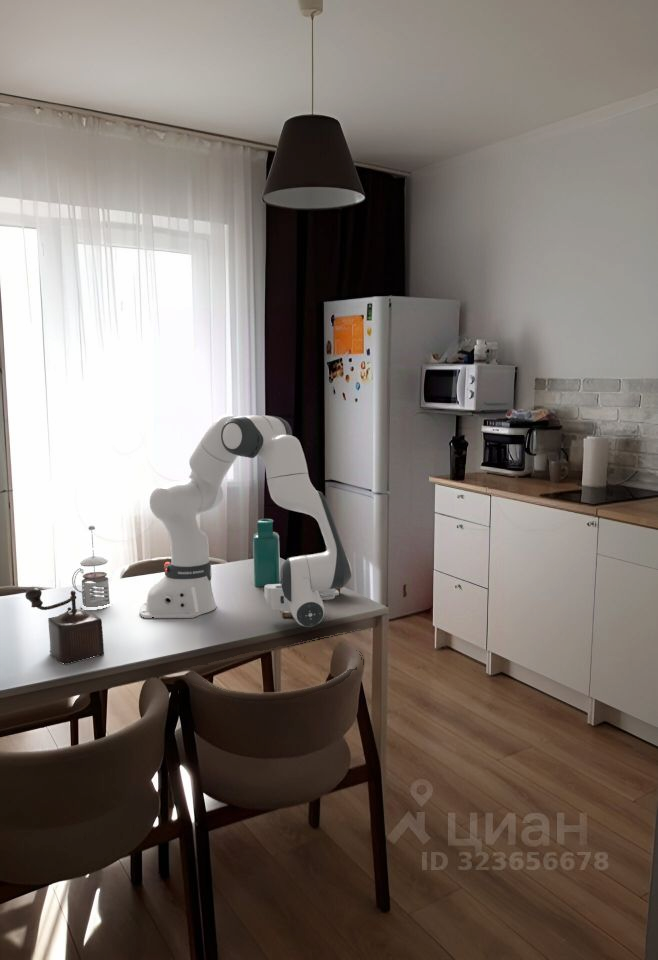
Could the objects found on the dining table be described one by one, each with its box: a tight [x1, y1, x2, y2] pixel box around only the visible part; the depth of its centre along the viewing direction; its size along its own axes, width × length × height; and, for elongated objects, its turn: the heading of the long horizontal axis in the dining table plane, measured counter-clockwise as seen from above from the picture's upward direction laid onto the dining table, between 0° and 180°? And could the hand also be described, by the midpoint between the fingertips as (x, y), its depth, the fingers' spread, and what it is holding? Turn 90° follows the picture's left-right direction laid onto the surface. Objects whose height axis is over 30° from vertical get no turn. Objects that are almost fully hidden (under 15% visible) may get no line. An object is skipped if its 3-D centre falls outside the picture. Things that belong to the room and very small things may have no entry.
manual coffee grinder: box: [24, 587, 105, 665], centre depth 183 cm, size 16×11×18 cm
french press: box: [71, 525, 111, 607], centre depth 223 cm, size 10×12×25 cm
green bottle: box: [252, 518, 281, 588], centre depth 244 cm, size 10×8×22 cm
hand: (297, 583), depth 216 cm, fingers open, 5 cm apart
